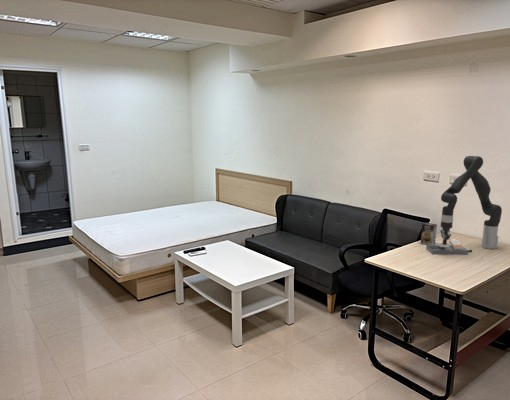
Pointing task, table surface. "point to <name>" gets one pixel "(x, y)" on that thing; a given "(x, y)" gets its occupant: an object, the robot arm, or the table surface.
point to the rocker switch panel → (446, 250)
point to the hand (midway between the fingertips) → (444, 244)
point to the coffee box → (428, 233)
